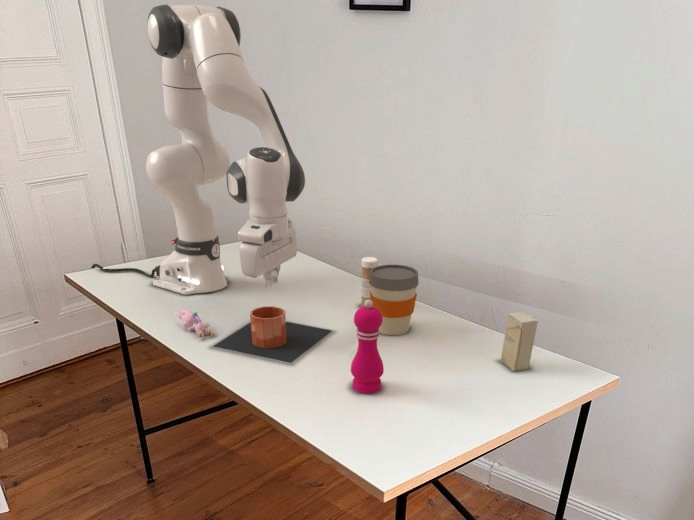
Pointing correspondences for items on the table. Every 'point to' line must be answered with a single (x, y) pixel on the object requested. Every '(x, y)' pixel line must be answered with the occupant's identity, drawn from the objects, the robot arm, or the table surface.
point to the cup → (268, 327)
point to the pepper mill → (367, 350)
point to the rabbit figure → (194, 323)
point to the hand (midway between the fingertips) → (272, 284)
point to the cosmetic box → (519, 340)
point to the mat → (296, 345)
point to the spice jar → (367, 277)
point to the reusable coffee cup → (394, 296)
